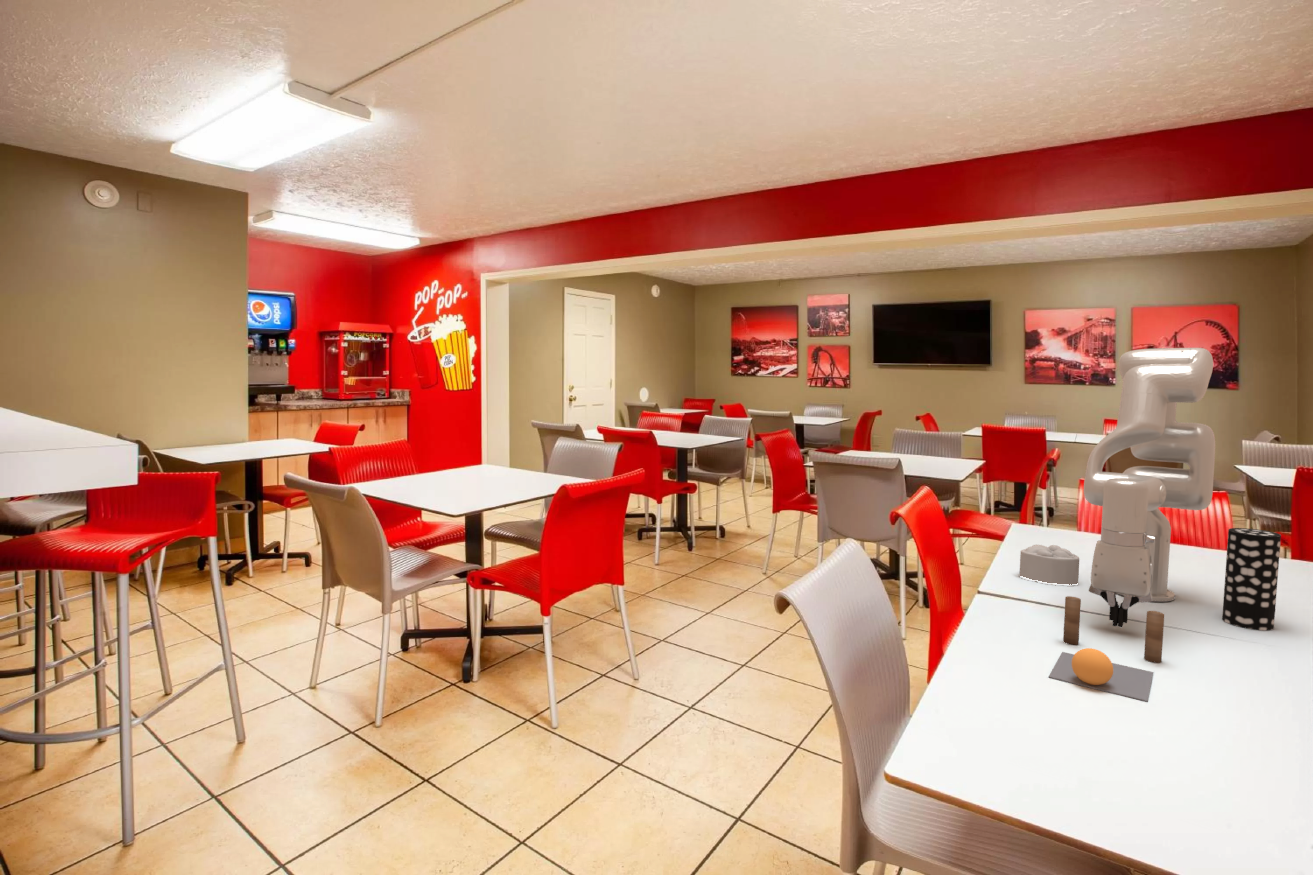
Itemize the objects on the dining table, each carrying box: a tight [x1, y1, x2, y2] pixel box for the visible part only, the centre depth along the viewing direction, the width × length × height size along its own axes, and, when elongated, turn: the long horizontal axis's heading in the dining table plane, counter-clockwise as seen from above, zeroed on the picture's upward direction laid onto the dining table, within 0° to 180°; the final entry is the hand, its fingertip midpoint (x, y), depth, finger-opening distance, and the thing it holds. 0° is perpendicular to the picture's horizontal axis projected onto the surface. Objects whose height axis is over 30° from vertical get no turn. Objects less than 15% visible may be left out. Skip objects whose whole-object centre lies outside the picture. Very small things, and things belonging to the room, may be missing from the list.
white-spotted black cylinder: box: [1221, 527, 1282, 631], centre depth 141 cm, size 8×8×20 cm
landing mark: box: [1048, 651, 1154, 703], centre depth 117 cm, size 14×14×1 cm
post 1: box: [1062, 595, 1082, 646], centre depth 131 cm, size 3×3×9 cm
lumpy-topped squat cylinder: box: [1019, 544, 1080, 585], centre depth 174 cm, size 10×13×9 cm
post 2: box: [1143, 610, 1165, 664], centre depth 123 cm, size 3×3×9 cm
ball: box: [1072, 647, 1113, 685], centre depth 113 cm, size 6×6×6 cm
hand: (1117, 624), depth 137 cm, fingers closed
